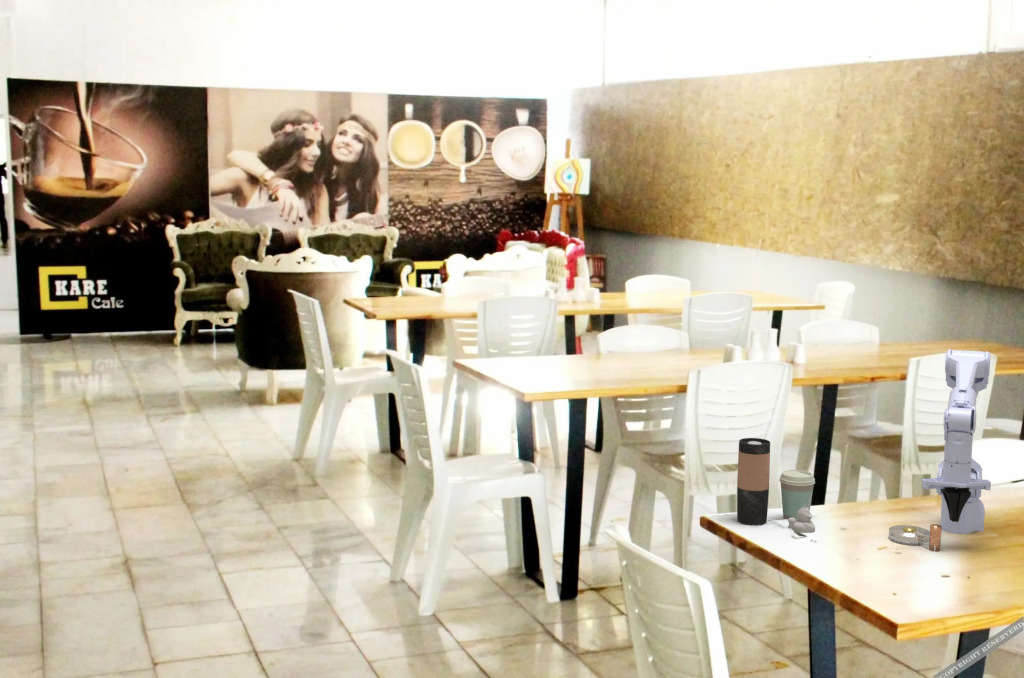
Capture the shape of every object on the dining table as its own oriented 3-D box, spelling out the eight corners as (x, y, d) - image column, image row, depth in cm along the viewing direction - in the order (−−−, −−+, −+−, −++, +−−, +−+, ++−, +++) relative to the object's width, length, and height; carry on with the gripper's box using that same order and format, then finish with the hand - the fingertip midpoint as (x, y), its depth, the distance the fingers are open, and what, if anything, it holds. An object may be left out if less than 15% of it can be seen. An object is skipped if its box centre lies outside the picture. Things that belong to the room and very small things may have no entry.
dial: (880, 536, 271) (881, 513, 271) (910, 531, 275) (911, 508, 274) (922, 553, 259) (923, 529, 258) (954, 548, 263) (955, 524, 262)
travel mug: (774, 522, 287) (777, 442, 284) (752, 527, 283) (755, 446, 280) (751, 515, 293) (753, 436, 290) (729, 520, 289) (731, 440, 286)
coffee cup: (814, 527, 283) (816, 478, 282) (778, 525, 285) (779, 476, 283) (812, 517, 292) (814, 470, 290) (777, 515, 293) (779, 468, 292)
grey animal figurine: (809, 540, 273) (810, 507, 272) (782, 535, 277) (784, 502, 276) (818, 535, 277) (820, 502, 276) (792, 530, 281) (793, 497, 280)
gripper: (930, 464, 257) (927, 525, 259) (997, 465, 257) (993, 526, 259) (920, 457, 264) (916, 516, 266) (985, 458, 264) (981, 517, 266)
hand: (954, 520), depth 263 cm, fingers closed
